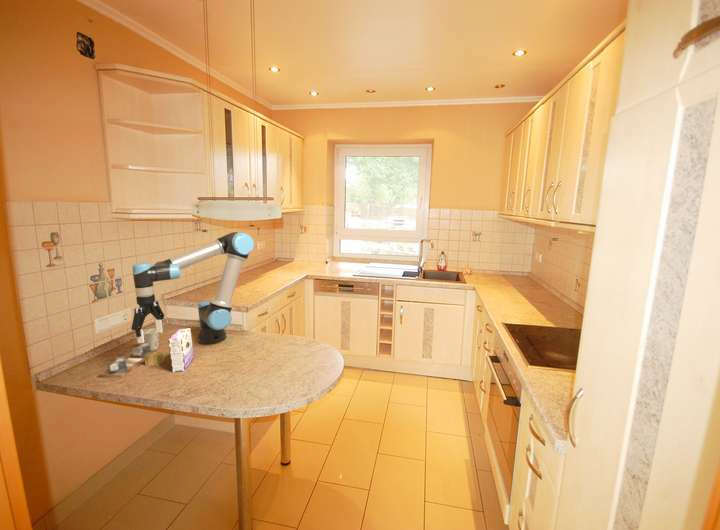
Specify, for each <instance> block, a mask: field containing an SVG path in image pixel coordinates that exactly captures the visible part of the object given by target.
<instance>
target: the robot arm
mask: <svg viewBox="0 0 720 530" xmlns="http://www.w3.org/2000/svg"><path fill="white" fill-rule="evenodd" d="M254 249H255V241H254V239H253V237H252V236H251V235H250V234H248V233H245V232H236V231H235V232H234V231H233V232H230V233H227V234H225V235H223V236H220V237H217V238H215V240H214V241H213V242H210V243H208V244H205V245H202V246H200V247H196V248H194V249H192V250H189V251H186V252H183V253H181V254H179V255H178V254H177V255H175V256H173V257H171V258H168V259H165V260H163V261H162V260H161V261H156V262H155V263H154V264H153V265H152V264H151V262H137V263H134V264H133V265H132V277H133V284H134V289H135V290H134V291H135V296H136V297H135V298H136V304H137V305H138V306H139V308H134V309H133V314H134V315H133V319H132V323H131V328H130V329H131V331H135V335H136V336H135V337H136V339H137V340H138V342H137V344H138V343H142V344H144V335H143V331H144V330H143V325H144V322H145V319H146V317H147V316H148V315H150V314H151V316H153V318H155V320H154V322H155V327H156V328H155V329H156V330H157V333H159V334H160V333H161V334H162V333H163V332H164V331H163V320H164V319H165V314H164V312H163V310H162V308H161V307H160V304H159V301H156V296H155V288H154V287H155V286H154V283H155V282H162V281H170V280H171V281H173V280H176V279H180V278H181V270H183V269H187V268H189V267H190V266H193V265H196V264H198V263H201V262H204V261H206V260H208V259H211V258H213V257H216V256H218V255H226V261H225V264H224V267H223V271H222V274H221V276H220V280H219V283H218V286H217V290H216V292H215V295H214V299H209V300H204V301H200V302H198V304H197V310H198V319H199V327H200V329H199V332H198V339H197V340H198V343H200V344H202V345H211V344H216V342H217V343H220V342H222V341H221V340H223V339H224V340H225V338H226V339H227V332H226V330H225V329H226V328H227V327H228V326H229V325H231V322H232V312H231V311H232V309H233V305H232V300H233V295H234V293H235V290H236V287H237V283H238V280H239V277H240V275H241V274H240V273H241V271H242V268H243V264H244V262H245V261H247V260H248V258H249V254H251V253H252V252H253V251H254ZM137 340H136V341H137ZM224 340H223V341H224ZM219 341H220V342H219Z"/></svg>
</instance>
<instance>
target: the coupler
mask: <svg viewBox="0 0 720 530" xmlns="http://www.w3.org/2000/svg"><path fill="white" fill-rule="evenodd" d="M144 357H145V362H144V363H145V366H146V367H150V366H151V367H152V366H153V367H157V366H160V365H161V364H162V363H163V362H164V361H165V359H164V351H158V352H150V353H149V354H147V355H145V356H144Z"/></svg>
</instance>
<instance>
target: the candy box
mask: <svg viewBox="0 0 720 530" xmlns="http://www.w3.org/2000/svg"><path fill="white" fill-rule="evenodd" d="M191 330H192V329H191V328H189V327H188V328H179V329H177V331H175V332H174V333H173V335H171V336H170V338H169V339H168V346H169V354H170V362H171V363H170V364H171V371H172V373H178V372H185V371H187V369H188V368H189V366H190V365H191V363H192V362H193V360H194V359H195V356H194V355H195V354H194V353H195V352H194V347H193V346H194V345H193V338H192V331H191Z"/></svg>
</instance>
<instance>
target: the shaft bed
mask: <svg viewBox="0 0 720 530" xmlns="http://www.w3.org/2000/svg"><path fill="white" fill-rule="evenodd" d="M142 344H143V345H138V346H136V347H132V348H131V349H132V354H131V355H130V356H128V357H127V358H126V356H125V355H124V356H117V357H115V361H111V362H110V363H109V364H108V365H107V368H108V369H106V370H104V371H103V372H100V374H99V373H98V375H97V377H98V378H122V377H124V376H125V375H127V374H128V373H130V372H131V371H133V370H134V369H136V368H138V367H139V366H141V365H142V364H144V363H145V357H144V356H145V355H147V354H149V353H150V352H159V351H155V350H151V348H150V346H149V343H142Z"/></svg>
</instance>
